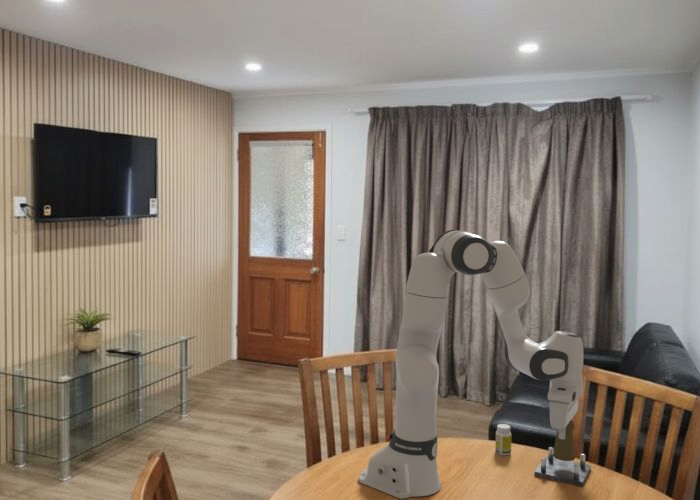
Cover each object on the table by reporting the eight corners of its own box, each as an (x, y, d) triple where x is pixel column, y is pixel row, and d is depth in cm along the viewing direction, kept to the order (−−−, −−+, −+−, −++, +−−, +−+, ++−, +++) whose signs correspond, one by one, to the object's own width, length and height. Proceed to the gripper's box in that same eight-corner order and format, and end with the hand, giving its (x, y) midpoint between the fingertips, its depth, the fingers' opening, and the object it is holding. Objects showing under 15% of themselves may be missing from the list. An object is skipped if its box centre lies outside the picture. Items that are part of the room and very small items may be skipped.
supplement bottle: (513, 451, 192) (513, 425, 191) (508, 456, 188) (509, 430, 188) (498, 448, 195) (498, 422, 194) (493, 453, 191) (493, 426, 190)
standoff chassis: (534, 475, 175) (534, 459, 175) (545, 459, 186) (545, 444, 186) (582, 486, 168) (583, 469, 168) (590, 469, 180) (591, 453, 179)
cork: (576, 461, 174) (578, 423, 173) (554, 460, 175) (555, 422, 174) (573, 453, 179) (574, 416, 179) (551, 451, 181) (552, 415, 180)
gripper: (562, 377, 186) (561, 422, 187) (546, 395, 169) (544, 444, 170) (584, 380, 183) (582, 426, 184) (570, 399, 165) (568, 449, 166)
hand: (564, 435), depth 177 cm, fingers closed on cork, 4 cm apart
